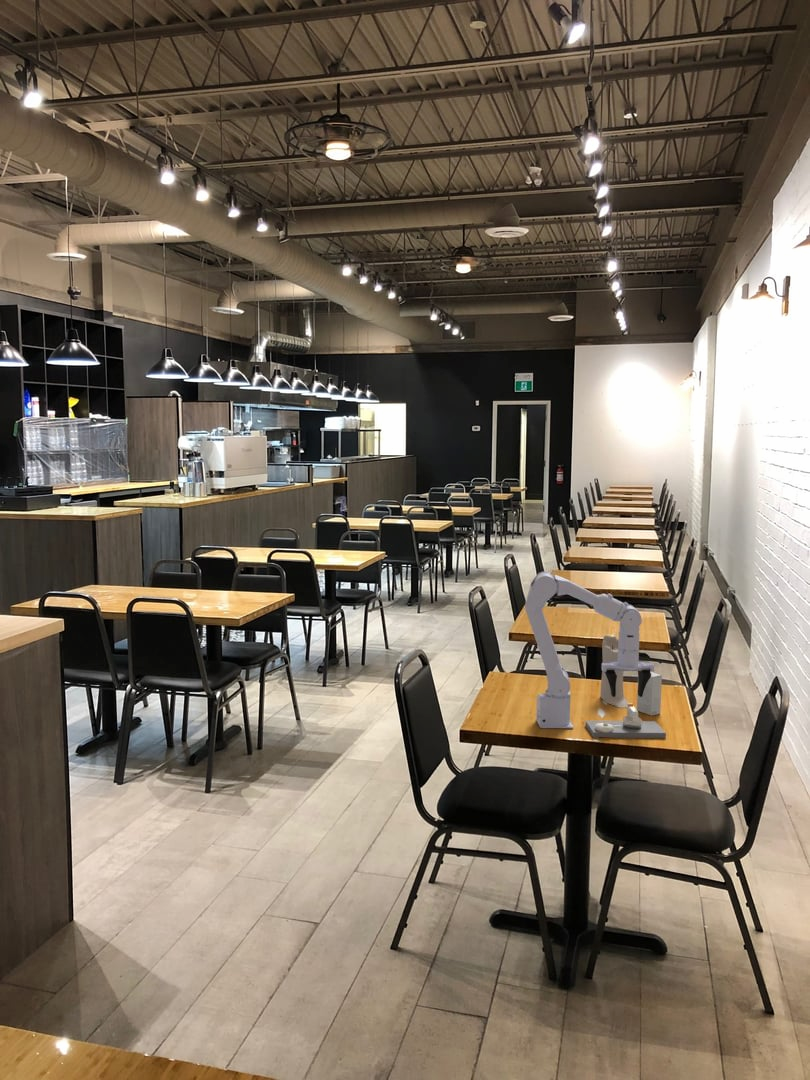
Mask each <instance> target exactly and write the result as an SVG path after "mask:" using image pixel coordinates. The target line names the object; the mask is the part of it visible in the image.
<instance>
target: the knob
mask: <svg viewBox="0 0 810 1080" xmlns="http://www.w3.org/2000/svg"><path fill="white" fill-rule="evenodd" d="M626 709H627V711H626V715H625V716H623V718H622V721H623V726H624V727H627V728H632V729H638V728H641V722H642V721H643V719H642V718H641V717H639V711H637V708H635V706H634V703H633V702H629V703H627V707H626Z"/></svg>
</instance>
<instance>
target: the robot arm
mask: <svg viewBox="0 0 810 1080" xmlns="http://www.w3.org/2000/svg"><path fill="white" fill-rule="evenodd" d="M555 594H556V595H557V596H558V597H559V596H564V595H568V596H571V597H573V598H574V599H578V600H579V601H582V602H584V603H586V604H589V605H590V606H592V608H593V610H594V612H595V613H597V614H599V615H600V616H603V617H605V618H608V619H610V620H612V621H613V622H618V623H619V622H620V623H619V631H618V638H617V639H618V662H613V663H603V662H601V671H603V672H605V674H606V676H607V679H608V682H609V685H610V689H611V695H612V696H613V697H615V696H616V680H617V675H616V672H615V671H624V672H637V690H638V695H639V696H640V697H642V696H643V692H644V689H645V686H646V684H647V682H648V680H649V679H650V677H651V673H650V672H653V673H655V664H653V662H649V663H648V662H639V659H640V658H639V657H640V656H639V655H640V654H639V653H640V626H641V625H642V623H643V619H642V615H641V614H640V612H639V611H638V609H637V608H636V607H634V606H633V605H632V604H629V603H628V602H627V601H624V602H622V601H621V600H618V599H617V598H614V596H613V595H612V594H611V593H607V594H606V593H601V594H596V593H594V592H591V590H588V589H586V588H584V587H582V586H580V585H579V584H577V583H574V582H572V581H571V580H569V579H567V578H564V577H562V576H560V575H557V574H552V573H551V572H549V571H541V572H538V573H537V574H536V575H535V577H534V578H533V579H532V581H531V582H530V586H529V589H528V593H527V596H526V599H525V603H524V609H525V612H526V615H527V618H528V621H529V625H530V627H531V630H532V633H533V636H534V638H535V642H536V644H537V645H536V646H537V648H538V651H539V653H540V657H541V659H542V662H543V666H544V670H545V672H546V681H547V689H545V690H544V691H545V693H539V694H537V697H536V716H535V717H536V718H535V721H536V723H537V725H538V726H539V728H540V729H574V725H573V723H572V722H571V701H572V700H571V697H572V694H571V692H570V691H571V682H570V681H569V680H570V677H569V674H568V672H567V670H565V669H564V667H563V666H562V663H561V660H560V658H559V655H558V653H557V649H556V646H555V643H554V640H553V638H552V637H553V636H552V634H551V632H550V628H549V626H548V622H547V619H546V617H545V614H544V611H543V608H544V607H545V605H546V603H547V601H549V600H550V599H552V597H553V596H554V595H555Z"/></svg>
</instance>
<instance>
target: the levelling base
mask: <svg viewBox="0 0 810 1080" xmlns="http://www.w3.org/2000/svg"><path fill="white" fill-rule="evenodd" d="M584 724H585V728H586V729H587V730H588V732H589V731H590V732H589V733H590V735H591V734H592V735H591V736H592V737H609V738H610V739H666V737H667V733H666V731H665V730H664V729H663V728H662V727H661V726H660V725H659V724H658V722H656V720H654V721H653V720H642V722H641V728H638V729H632V728H627V727H624V726H623V720H585V723H584ZM611 737H612V738H611ZM613 737H614V738H613ZM609 738H608V739H609Z"/></svg>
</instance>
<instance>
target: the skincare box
mask: <svg viewBox="0 0 810 1080" xmlns="http://www.w3.org/2000/svg"><path fill="white" fill-rule="evenodd" d="M650 673H651V677H650V679H649V680H648V682H647V684H646V686H645V689H644V692H643V696H642V697H640V696H639V695H638V689H637V692H636V693H637V695H636V696H637V698H636V710H637V711H638V712H640V713H642V714H645V715H648V716H655V715H656V716H657V715H660V714H661V712H662V711H661V709H662V707H661V706H662V705H661V704H662V682H663V680H662V679H663V675H662V674H659V673H656V672H650Z"/></svg>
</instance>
